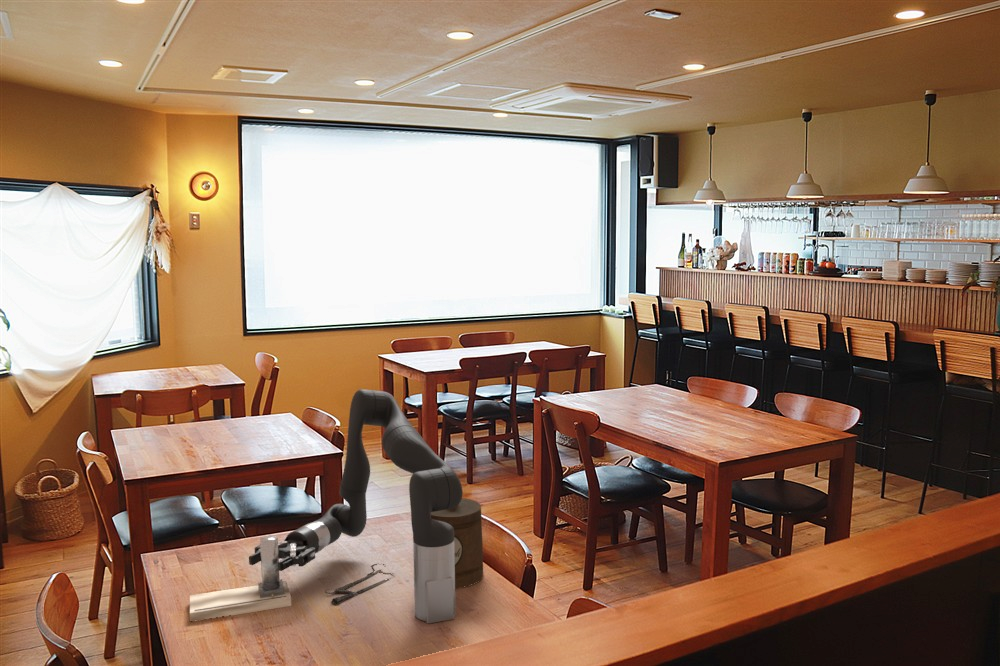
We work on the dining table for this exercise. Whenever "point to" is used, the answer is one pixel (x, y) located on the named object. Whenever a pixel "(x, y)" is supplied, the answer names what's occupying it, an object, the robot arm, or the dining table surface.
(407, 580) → the dining table surface
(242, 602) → the birch board
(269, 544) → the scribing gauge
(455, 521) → the wooden container
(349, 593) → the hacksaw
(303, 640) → the dining table surface
